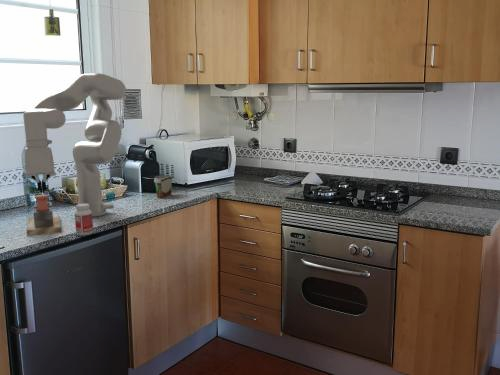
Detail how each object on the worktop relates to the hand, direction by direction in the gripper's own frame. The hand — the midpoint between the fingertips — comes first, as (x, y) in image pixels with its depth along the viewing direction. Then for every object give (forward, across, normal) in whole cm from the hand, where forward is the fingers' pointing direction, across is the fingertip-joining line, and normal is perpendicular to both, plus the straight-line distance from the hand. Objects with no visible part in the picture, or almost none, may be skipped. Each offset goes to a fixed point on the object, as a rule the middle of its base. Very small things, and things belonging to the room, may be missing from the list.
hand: (42, 191), depth 203 cm
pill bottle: (+15, -13, +12) cm, 24 cm away
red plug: (+10, +1, +1) cm, 10 cm away
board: (+15, +1, -5) cm, 16 cm away
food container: (+17, -54, -46) cm, 73 cm away
